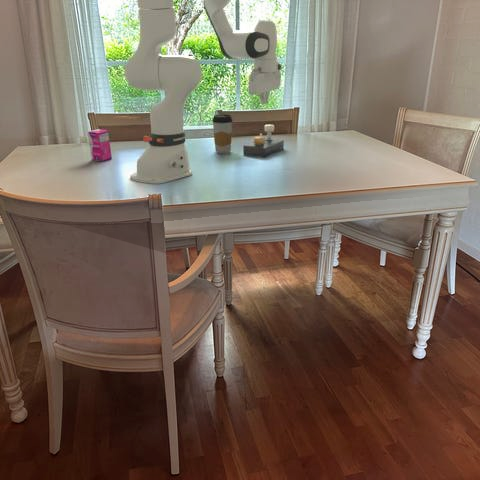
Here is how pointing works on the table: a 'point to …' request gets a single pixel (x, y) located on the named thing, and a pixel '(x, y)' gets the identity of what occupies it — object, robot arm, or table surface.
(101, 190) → the table surface
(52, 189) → the table surface
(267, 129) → the knob cream
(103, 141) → the supplement box
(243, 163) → the table surface
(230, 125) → the coffee cup
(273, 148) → the mount
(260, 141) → the knob orange
